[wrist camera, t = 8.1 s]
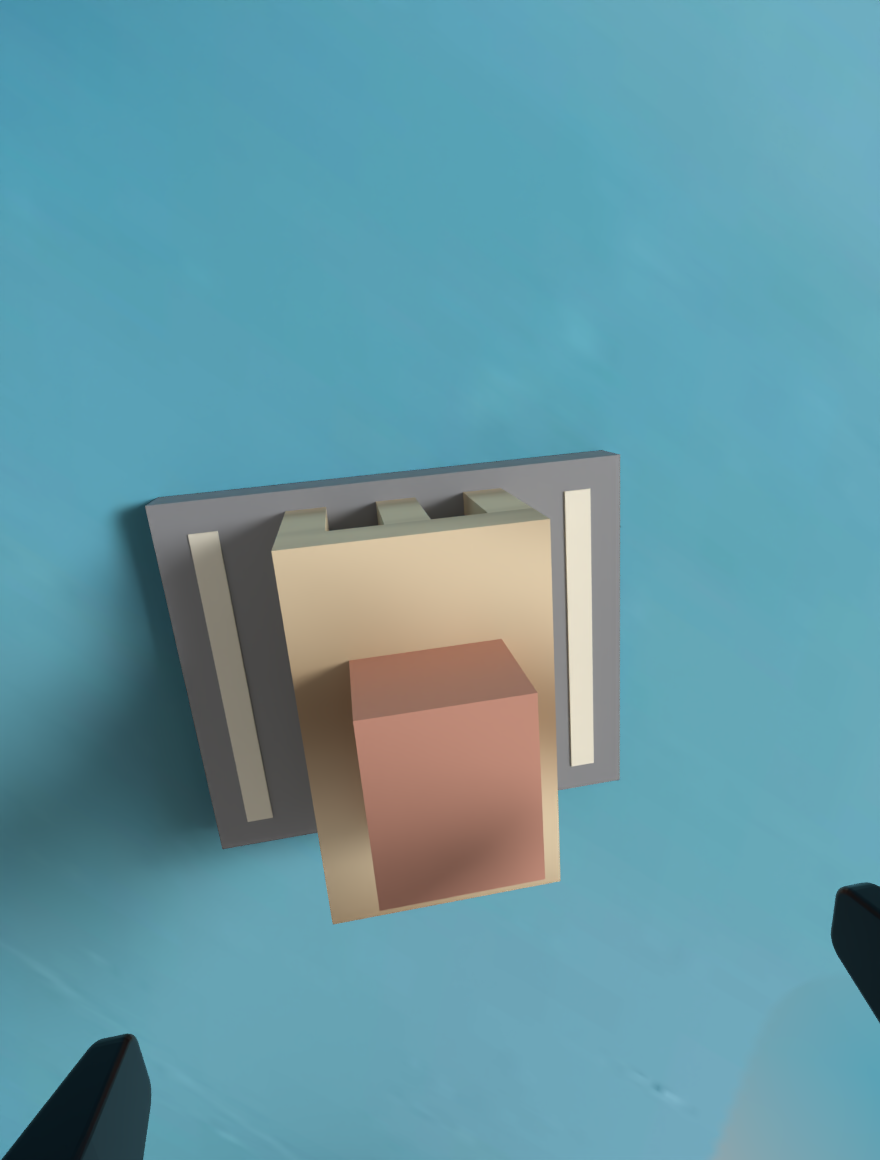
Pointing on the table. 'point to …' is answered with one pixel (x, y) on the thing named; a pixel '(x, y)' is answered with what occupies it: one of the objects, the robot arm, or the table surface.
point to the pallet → (407, 645)
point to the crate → (448, 771)
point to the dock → (258, 644)
